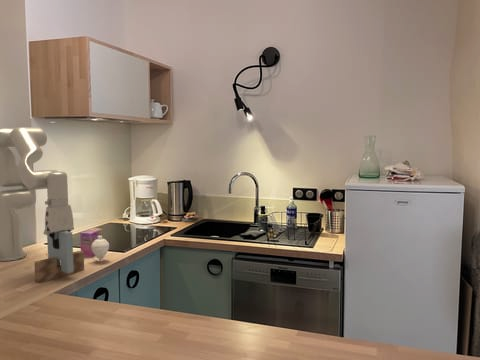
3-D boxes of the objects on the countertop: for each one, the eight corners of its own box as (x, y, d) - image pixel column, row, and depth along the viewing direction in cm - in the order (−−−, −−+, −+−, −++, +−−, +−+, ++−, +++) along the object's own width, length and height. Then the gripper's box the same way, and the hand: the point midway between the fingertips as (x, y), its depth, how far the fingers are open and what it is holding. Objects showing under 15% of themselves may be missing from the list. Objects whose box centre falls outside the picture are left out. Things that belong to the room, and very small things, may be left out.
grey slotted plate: (73, 271, 168) (72, 232, 167) (68, 273, 166) (66, 233, 165) (54, 265, 177) (52, 227, 175) (48, 266, 175) (46, 228, 173)
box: (91, 258, 197) (90, 233, 196) (80, 257, 198) (79, 232, 197) (103, 252, 207) (102, 228, 206) (92, 251, 208) (91, 227, 207)
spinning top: (91, 265, 186) (90, 238, 185) (92, 260, 193) (91, 234, 192) (109, 263, 188) (108, 237, 187) (109, 259, 195) (109, 233, 194)
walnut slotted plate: (38, 283, 163) (37, 262, 162) (35, 281, 165) (34, 261, 164) (84, 269, 179) (83, 251, 178) (80, 268, 181) (80, 250, 180)
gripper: (43, 206, 160) (45, 253, 162) (81, 201, 173) (83, 244, 175) (33, 204, 164) (35, 250, 166) (70, 199, 177) (72, 242, 179)
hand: (59, 247), depth 171 cm, fingers closed on grey slotted plate, 2 cm apart
